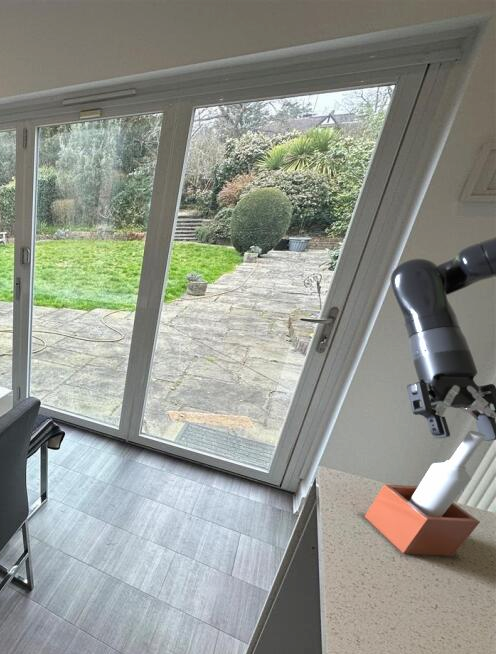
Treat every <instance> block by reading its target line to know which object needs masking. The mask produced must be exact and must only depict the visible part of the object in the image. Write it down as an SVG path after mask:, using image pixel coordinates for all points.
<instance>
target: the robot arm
mask: <svg viewBox="0 0 496 654" xmlns="http://www.w3.org/2000/svg"><path fill="white" fill-rule="evenodd" d="M493 278H496V236H495V237H492V238H489V239H486V240H484V241H483V240H482V241H481V242H478V243H474V244H472V245H469V246H466V247H465V248H463V249H461V250H460V251H459V252H458V253H457V255H456V256H455V257H454V258H452V259H450V260H447V261H445V262H443V263H441V264H438V265H437V264H436V263H435V262H433V261H432V260H429V259H425V258H413V259H409V260H406V261H404V262H402V263H400V264H399V265H397V266H396V268H395V269H394V270H393V271H392V273H391V274H390V278H389V279H390V280H389V283H390V286H391V290H392V293H393V294H394V297H395V300H396V302H397V305H398V307H399V310H400V312H401V314H402V319H403V325H404V329H405V332H406V335H407V338H408V344H409V353H410V355H411V359H412V362H413V365H414V369H415V372H416V376H417V379H418V381H417V382H413V383H410V384H407V385H406V390H407V394H408V399H409V403H410V407H411V412H412V414H413V415H415V416H423V418H424V419H426V420H427V424H428V427H429V429H430V430H429V431H430V434H431V435H432V436H433V438H434V439H446V438H450V436H451V433H450V428H449V425H448V422H447V419H446V416H444V413H446V410H447V409H448V408H455V409H460V410H461V411H463V412H464V413H468V414H469V415H471V416H472V417H473V418H474V419H475V423H476V427H477V430H478V432H479V433H482V434H484V435H485V436H486V437H485V439H484V440H483V442H491V441H496V385H495V384H493V383H489V384H484V385H478V384H477V383H476V382H475V380H474V378H475V376H477V375H478V370H477V367H476V364H475V361H474V358H473V355H472V351H471V349H470V346H469V343H468V341H467V338H466V336H465V334H464V333H463V331H462V329H461V326H460V323H459V320H458V317H457V315H456V312H455V310H454V308H453V306H452V305H451V304H450V302H449V299H448V296H449V295H451V294H453V293H455V292H458V291H461V290H463V289H466V288H468V287H470V286H472V285H474V284H477V283H478V282H481V281H485V280H488V279H493ZM491 405H492V406H493V408H494V409H492V407H491ZM480 411H481V412H482V413H481V412H480Z"/></svg>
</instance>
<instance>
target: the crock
mask: <svg viewBox="0 0 496 654" xmlns="http://www.w3.org/2000/svg"><path fill="white" fill-rule="evenodd" d="M418 486H419V485H405V484H403V485H402V484H386V483H385V484H383V486H382V487H381V489H380V490H379V492H378V493H377V495H376V497H375V498H374V500H373V502H372V503H371V505H370V507H368V508H369V509H368V510H367V512H366V513H365V515H364V518H365V519H366V520H367V521H368V522H370V523H371V525H372V526H374V528H376V529H377V530H378V531H379V532H380V533H381V534H382V535H383V536H384V537H385V538H386V539H387V540H388V541H390V542H391V543H392V544H393V546H395V547H396V548H397V549H398V550H399V551H400V552H401V553H402V554H408V555H409V554H410V555H411V554H412V555H413V554H414V555H432V556H449V557H450V556H452V557H453V556H455V554H456V553H457V552H458V551H459V549H460V548H461V547H462V546H463V544H465V542H466V541H467V539H468V538H469V537H470V536H471V534H472V533H473V532H474V531H475V529H476V528H477V527H478V525H479V524H480V523H481V521H480V520H479V519H477V518H476V517H475V516H472V515H471V514H470V513H469V512H467V511H466V510H464V508H462V507H461V506H460V505H457V504H456V503H455V502H453V503H452V504H451V505H450V507H449V508H448V509H447V510H446V512H445V513H444V514H443V516H442V517H428V516H426V515H425V514H424V513H423V512H421V511H420V510H419V509H418V508H416V507H415V506H414V505H413V504H411V503H410V502H409V501H410V499H411V497H412V496H413V494H414V492H415V491H416V489H417V488H418Z"/></svg>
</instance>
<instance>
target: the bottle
mask: <svg viewBox="0 0 496 654" xmlns="http://www.w3.org/2000/svg"><path fill="white" fill-rule="evenodd" d="M485 437H486V436H485V435H484V434H482V433H479V431H476V430H469V431H468V432H467V433H466V435H465V437H463V439H462V442H461V443H460V445H459V446H458V447H457V449H456V450H455V452H454V453H453V454H452V456H451V457H450V459H449V460H448V459H447V460H445V462H433V463H432V464H431V465H430V467H429V468H428V470H427V472H426V473H425V475H424V477H423V478H422V480H421V481H420V483H419V485H417V486H418V488H417V489H416V491H415V492H414V494H413V496H412V497H411V499H410V501H409V502H410V503H411V504H413V505H414V506H415V507H416V508H418V509H419V510H420V511H421V512H423V513H424V514H425V515H426V516H428V517H442V516H443V514H444V513H445V512H446V510H447V509H448V508H449V507H450V505H451V504H452V503H454V502H455V500H456V499H457V498H458V496H459V495H460V494H461V492H463V490H464V489H465V487H467V485H468V484H469V482H470V481H471V479H472V478H471V476H470V474H469V473H468V472H467V471H466V469H467V467H466V465H467V463H469V461H470V460H471V457H472V456H473V454H474V453H475V452H476V450H477V449H478V448H479V447H480V445H482V443H483V442H484V439H485Z"/></svg>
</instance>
